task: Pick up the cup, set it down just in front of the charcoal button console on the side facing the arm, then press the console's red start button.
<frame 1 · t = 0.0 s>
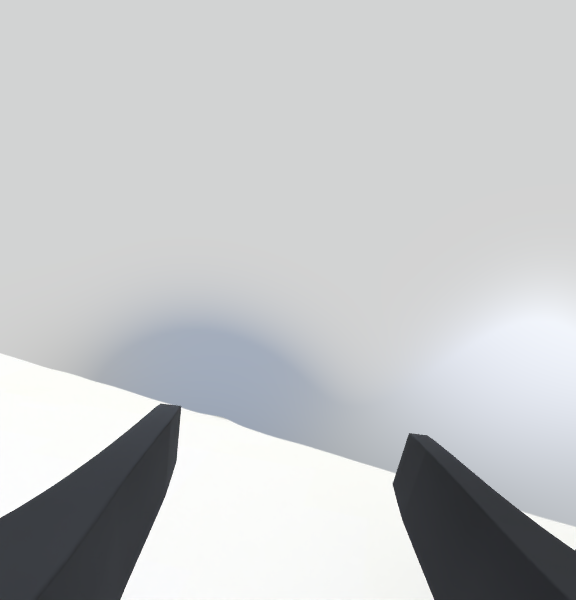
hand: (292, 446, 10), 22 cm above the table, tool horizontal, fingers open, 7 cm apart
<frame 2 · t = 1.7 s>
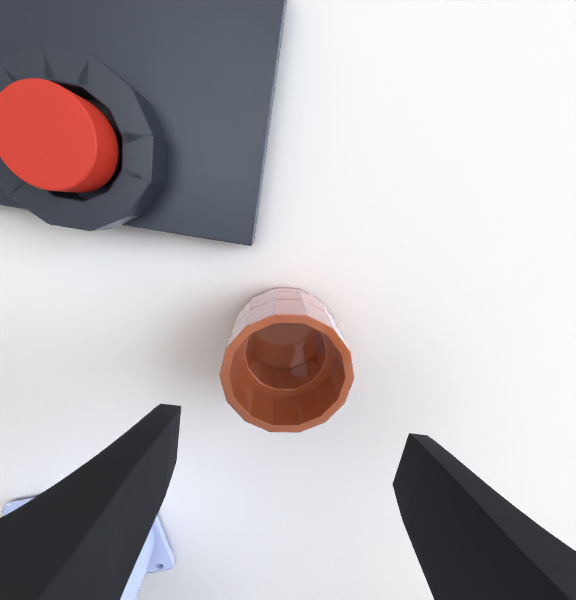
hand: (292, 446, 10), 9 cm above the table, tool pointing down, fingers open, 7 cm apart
console: (112, 101, 15), on the table
cup: (284, 333, 19), on the table
start button: (59, 141, 12), point 4 cm above the table, slide at 0.1 cm
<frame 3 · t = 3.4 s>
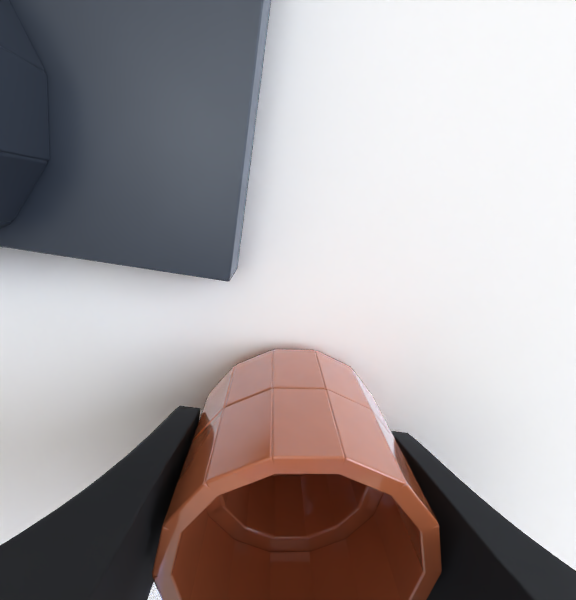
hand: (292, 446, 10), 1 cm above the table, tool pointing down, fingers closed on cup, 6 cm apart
cup: (289, 417, 11), on the table, touching gripper
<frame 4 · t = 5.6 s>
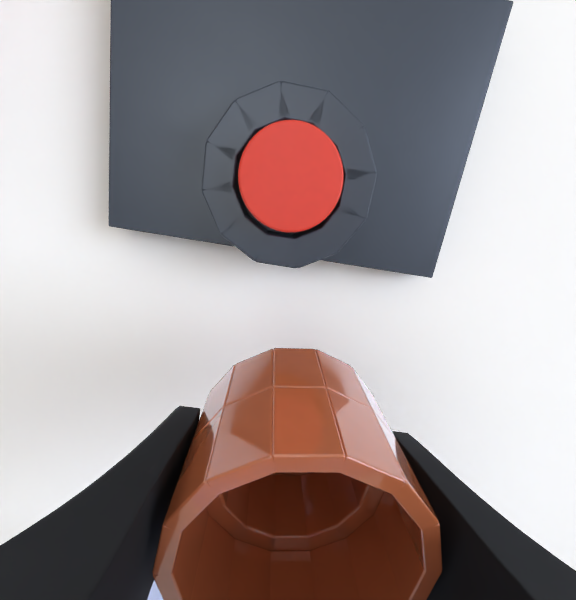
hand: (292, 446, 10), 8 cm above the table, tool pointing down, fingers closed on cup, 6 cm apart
console: (295, 130, 15), on the table
cup: (289, 417, 11), point 7 cm above the table, touching gripper
start button: (290, 180, 12), point 4 cm above the table, slide at 0.1 cm
when the fingers open (1 cm above the table, at t = 8.2 s): cup stays where it is, on the table.
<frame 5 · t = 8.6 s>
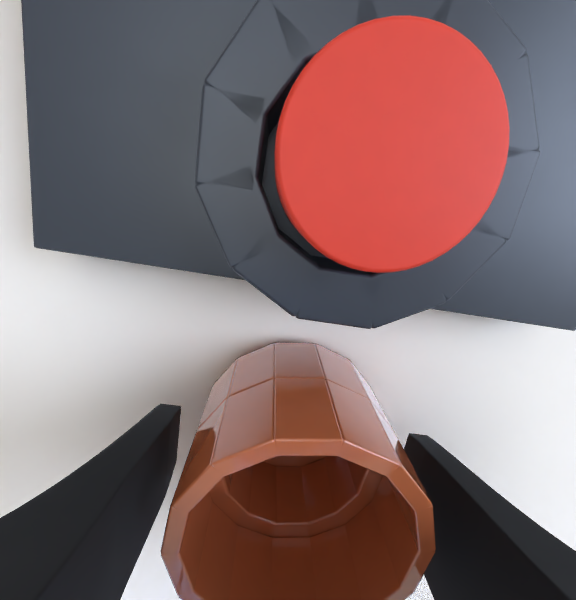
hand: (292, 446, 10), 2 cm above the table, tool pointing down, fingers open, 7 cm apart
console: (354, 86, 9), on the table
cup: (290, 409, 12), on the table
start button: (376, 164, 6), point 4 cm above the table, slide at 0.1 cm
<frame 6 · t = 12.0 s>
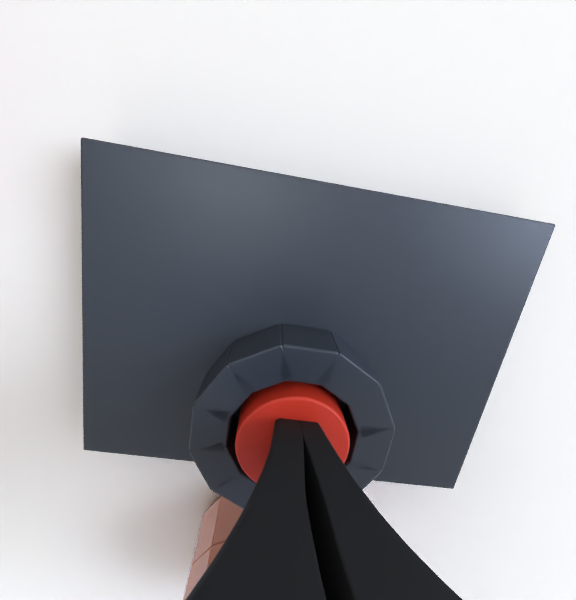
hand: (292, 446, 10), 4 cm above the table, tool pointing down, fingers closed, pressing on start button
console: (298, 328, 13), on the table
cup: (261, 523, 16), on the table
start button: (291, 429, 11), point 3 cm above the table, slide at -0.9 cm, touching gripper
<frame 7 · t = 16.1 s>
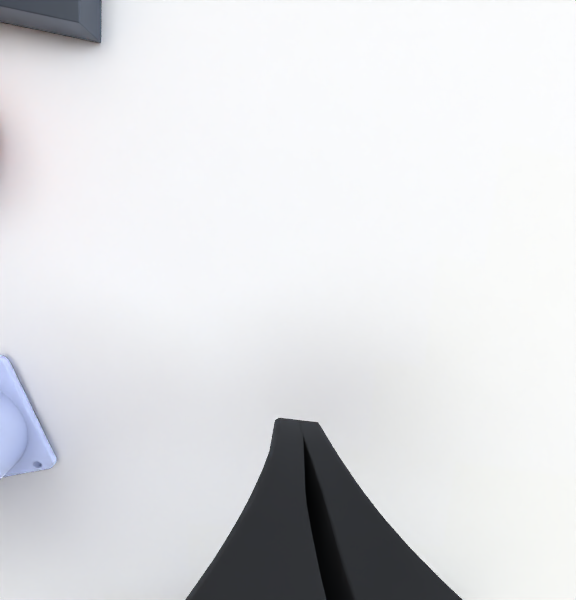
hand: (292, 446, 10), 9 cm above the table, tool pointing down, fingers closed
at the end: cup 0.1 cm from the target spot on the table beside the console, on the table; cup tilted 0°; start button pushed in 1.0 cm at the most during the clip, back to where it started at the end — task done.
